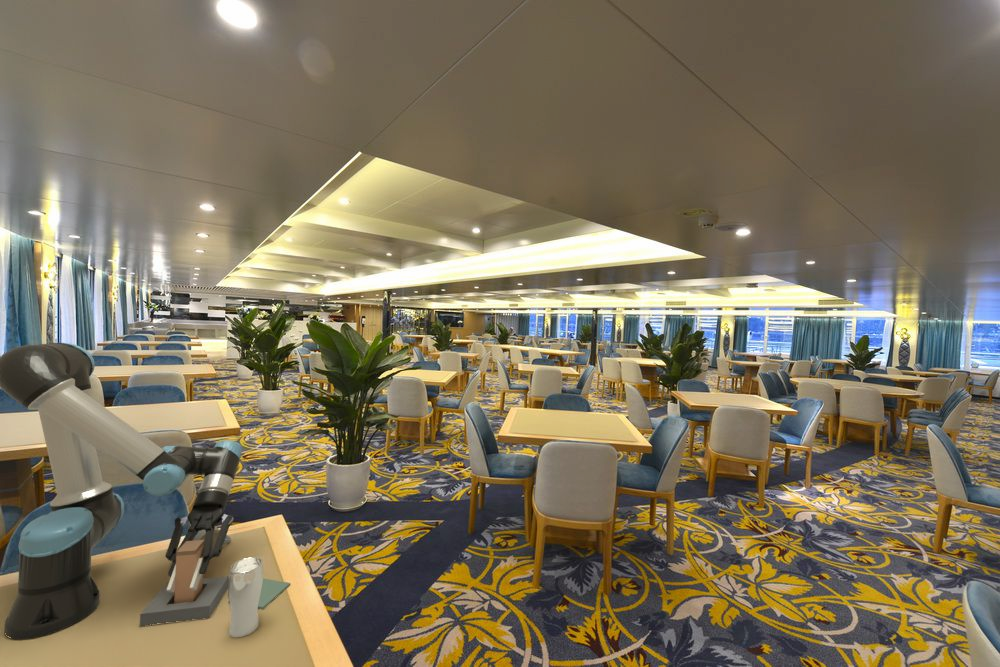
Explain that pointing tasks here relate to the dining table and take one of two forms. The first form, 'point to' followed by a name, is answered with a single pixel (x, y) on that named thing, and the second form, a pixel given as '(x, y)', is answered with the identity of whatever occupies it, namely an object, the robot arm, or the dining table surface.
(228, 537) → the ceramic mug
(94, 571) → the dining table surface
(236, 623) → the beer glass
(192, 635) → the dining table surface
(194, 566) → the brown tall block
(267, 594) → the mat
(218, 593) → the socket block
